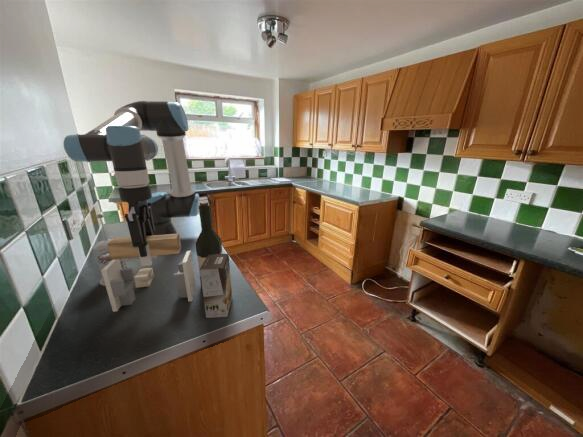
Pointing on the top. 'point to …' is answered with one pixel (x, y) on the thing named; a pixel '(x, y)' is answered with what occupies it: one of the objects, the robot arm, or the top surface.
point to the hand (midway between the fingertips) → (149, 261)
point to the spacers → (144, 277)
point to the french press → (105, 256)
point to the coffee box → (216, 285)
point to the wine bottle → (206, 237)
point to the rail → (157, 243)
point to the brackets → (123, 280)
